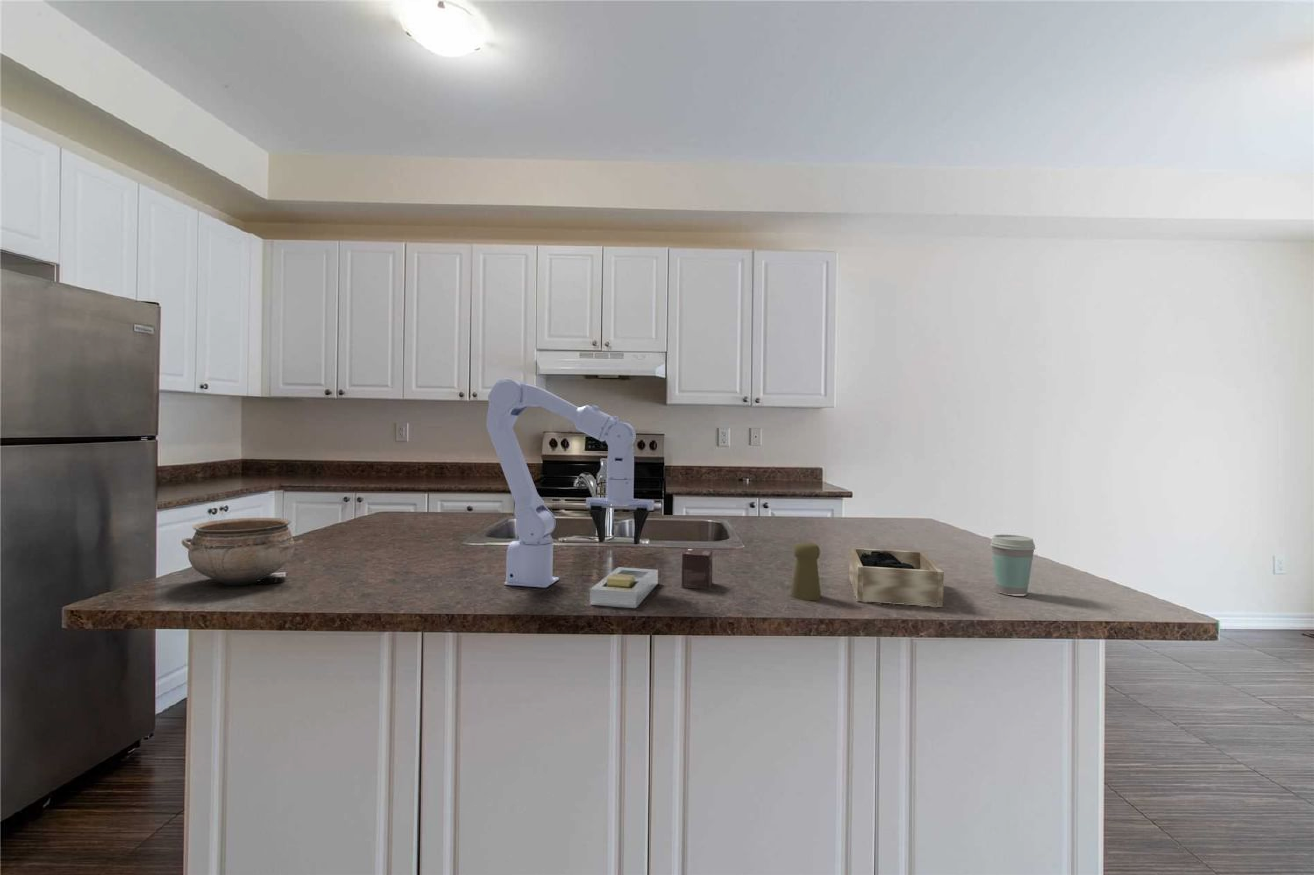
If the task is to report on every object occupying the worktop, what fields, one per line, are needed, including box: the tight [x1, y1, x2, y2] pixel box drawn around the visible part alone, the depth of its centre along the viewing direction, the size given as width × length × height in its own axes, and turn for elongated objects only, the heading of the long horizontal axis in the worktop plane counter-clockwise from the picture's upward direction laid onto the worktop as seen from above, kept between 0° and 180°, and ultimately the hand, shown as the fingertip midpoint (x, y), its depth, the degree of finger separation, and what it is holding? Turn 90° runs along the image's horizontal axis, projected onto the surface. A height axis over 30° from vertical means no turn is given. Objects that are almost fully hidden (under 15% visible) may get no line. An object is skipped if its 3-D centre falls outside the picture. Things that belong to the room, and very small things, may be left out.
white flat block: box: [589, 566, 659, 609], centre depth 135 cm, size 9×20×3 cm, turn 168°
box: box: [681, 548, 713, 590], centre depth 143 cm, size 6×6×7 cm
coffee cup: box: [990, 534, 1037, 594], centre depth 141 cm, size 8×8×12 cm
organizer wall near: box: [862, 566, 938, 606], centre depth 131 cm, size 14×1×7 cm, turn 78°
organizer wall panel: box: [848, 547, 863, 602], centre depth 142 cm, size 1×21×7 cm, turn 168°
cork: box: [790, 541, 822, 601], centre depth 136 cm, size 6×6×11 cm
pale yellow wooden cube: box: [607, 574, 635, 589], centre depth 131 cm, size 4×4×4 cm
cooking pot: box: [181, 517, 304, 586], centre depth 139 cm, size 25×19×12 cm
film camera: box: [859, 551, 915, 569], centre depth 139 cm, size 15×10×9 cm, turn 17°
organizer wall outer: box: [919, 551, 945, 607], centre depth 139 cm, size 1×21×7 cm, turn 168°
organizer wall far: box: [854, 547, 921, 570], centre depth 150 cm, size 14×1×7 cm, turn 78°
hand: (619, 542), depth 141 cm, fingers open, 7 cm apart
